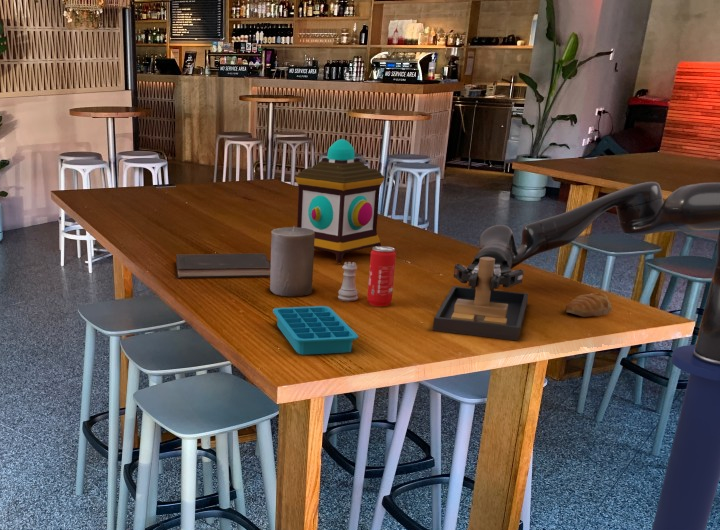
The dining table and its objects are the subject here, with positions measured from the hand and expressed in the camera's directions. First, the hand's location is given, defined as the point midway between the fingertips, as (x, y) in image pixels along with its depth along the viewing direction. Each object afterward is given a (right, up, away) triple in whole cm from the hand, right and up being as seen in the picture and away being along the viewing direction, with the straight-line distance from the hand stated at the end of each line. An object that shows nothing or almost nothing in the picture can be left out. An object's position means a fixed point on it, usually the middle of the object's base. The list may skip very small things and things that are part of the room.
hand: (482, 284), depth 150 cm
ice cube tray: (-33, -10, -1) cm, 34 cm away
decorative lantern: (-18, +16, +64) cm, 68 cm away
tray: (+4, -5, +11) cm, 13 cm away
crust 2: (+3, -8, +2) cm, 9 cm away
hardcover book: (-49, +10, +49) cm, 69 cm away
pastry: (+26, -4, +14) cm, 30 cm away
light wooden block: (-3, -7, +4) cm, 9 cm away
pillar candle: (-33, +2, +30) cm, 45 cm away
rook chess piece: (-22, 0, +24) cm, 32 cm away
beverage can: (-15, -2, +20) cm, 25 cm away
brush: (+1, -7, +6) cm, 9 cm away
